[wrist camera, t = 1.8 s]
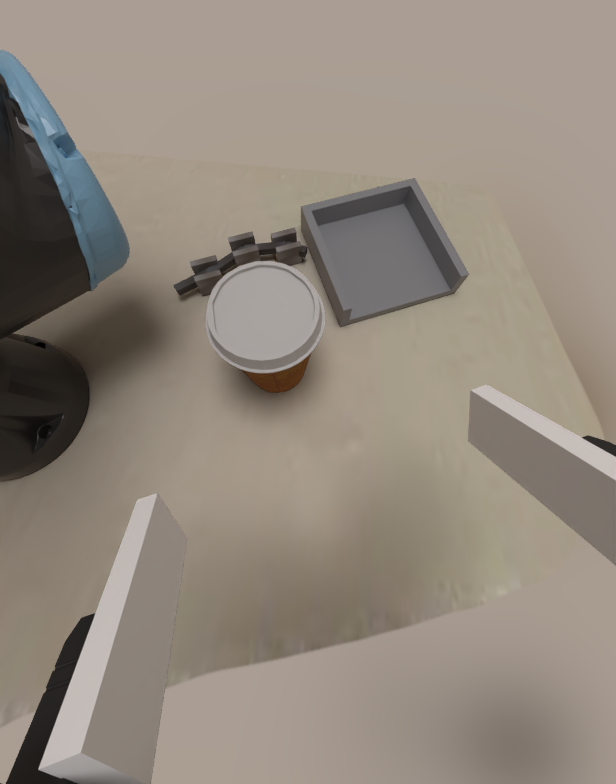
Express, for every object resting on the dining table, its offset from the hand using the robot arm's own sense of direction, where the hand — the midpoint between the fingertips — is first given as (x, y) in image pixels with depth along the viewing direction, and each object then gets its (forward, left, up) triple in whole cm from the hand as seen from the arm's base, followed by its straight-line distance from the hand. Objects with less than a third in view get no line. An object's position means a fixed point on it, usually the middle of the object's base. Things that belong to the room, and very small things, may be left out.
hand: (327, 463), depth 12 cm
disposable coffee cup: (0, +13, -19) cm, 23 cm away
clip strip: (0, +27, -19) cm, 33 cm away
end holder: (+16, +23, -19) cm, 34 cm away
